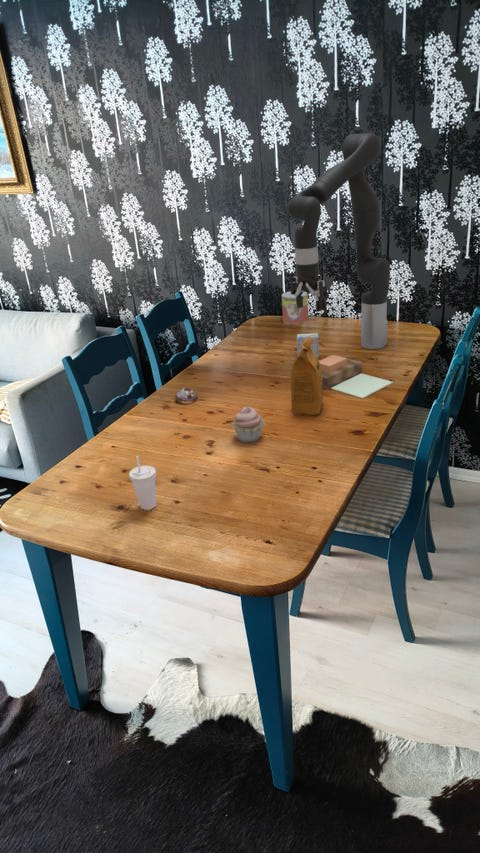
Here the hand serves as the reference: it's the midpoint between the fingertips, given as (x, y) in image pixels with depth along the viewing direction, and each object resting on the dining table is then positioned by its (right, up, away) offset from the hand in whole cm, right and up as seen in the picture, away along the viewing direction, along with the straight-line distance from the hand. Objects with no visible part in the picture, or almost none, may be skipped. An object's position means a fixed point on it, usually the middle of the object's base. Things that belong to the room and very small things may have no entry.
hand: (309, 309), depth 210 cm
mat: (+17, -26, -5) cm, 32 cm away
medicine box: (+2, -14, +24) cm, 28 cm away
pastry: (-41, -31, -3) cm, 52 cm away
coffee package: (-2, -34, -17) cm, 38 cm away
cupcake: (-21, -43, -31) cm, 57 cm away
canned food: (+1, +7, +67) cm, 67 cm away
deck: (+8, -23, +4) cm, 24 cm away
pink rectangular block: (+8, -19, +2) cm, 21 cm away
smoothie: (-46, -59, -59) cm, 95 cm away
